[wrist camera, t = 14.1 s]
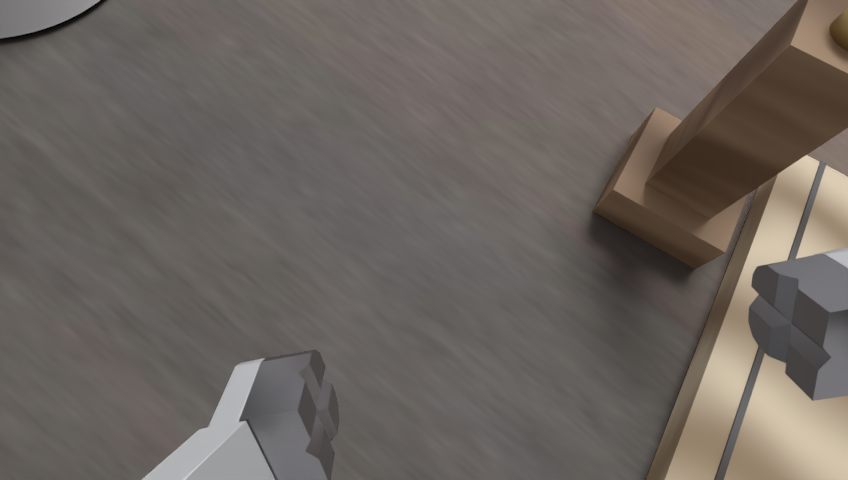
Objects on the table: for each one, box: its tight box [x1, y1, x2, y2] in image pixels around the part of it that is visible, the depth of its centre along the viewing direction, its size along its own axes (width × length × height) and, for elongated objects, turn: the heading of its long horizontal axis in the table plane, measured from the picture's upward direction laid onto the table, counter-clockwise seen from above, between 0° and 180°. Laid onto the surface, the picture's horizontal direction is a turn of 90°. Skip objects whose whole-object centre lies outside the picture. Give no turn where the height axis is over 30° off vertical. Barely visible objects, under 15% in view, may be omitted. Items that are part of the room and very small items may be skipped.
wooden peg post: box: [593, 0, 848, 269], centre depth 22 cm, size 6×6×13 cm
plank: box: [646, 155, 848, 480], centre depth 24 cm, size 24×10×2 cm, turn 148°
